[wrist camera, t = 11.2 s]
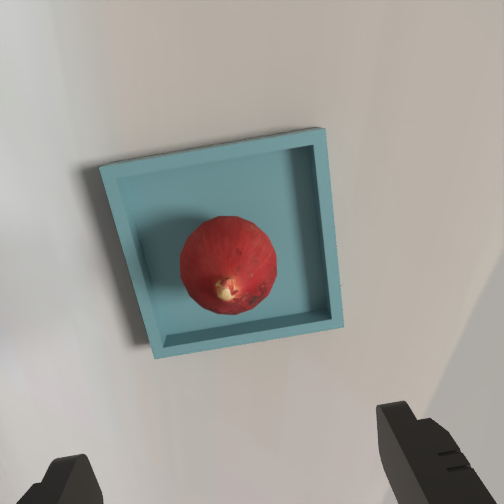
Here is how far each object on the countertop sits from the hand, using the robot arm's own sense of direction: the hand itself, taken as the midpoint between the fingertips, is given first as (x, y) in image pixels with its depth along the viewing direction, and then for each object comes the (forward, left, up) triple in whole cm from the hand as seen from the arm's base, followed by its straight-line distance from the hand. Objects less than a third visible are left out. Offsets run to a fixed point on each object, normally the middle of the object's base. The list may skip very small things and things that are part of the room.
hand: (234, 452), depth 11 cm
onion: (0, 0, -18) cm, 18 cm away
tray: (0, 0, -18) cm, 18 cm away
